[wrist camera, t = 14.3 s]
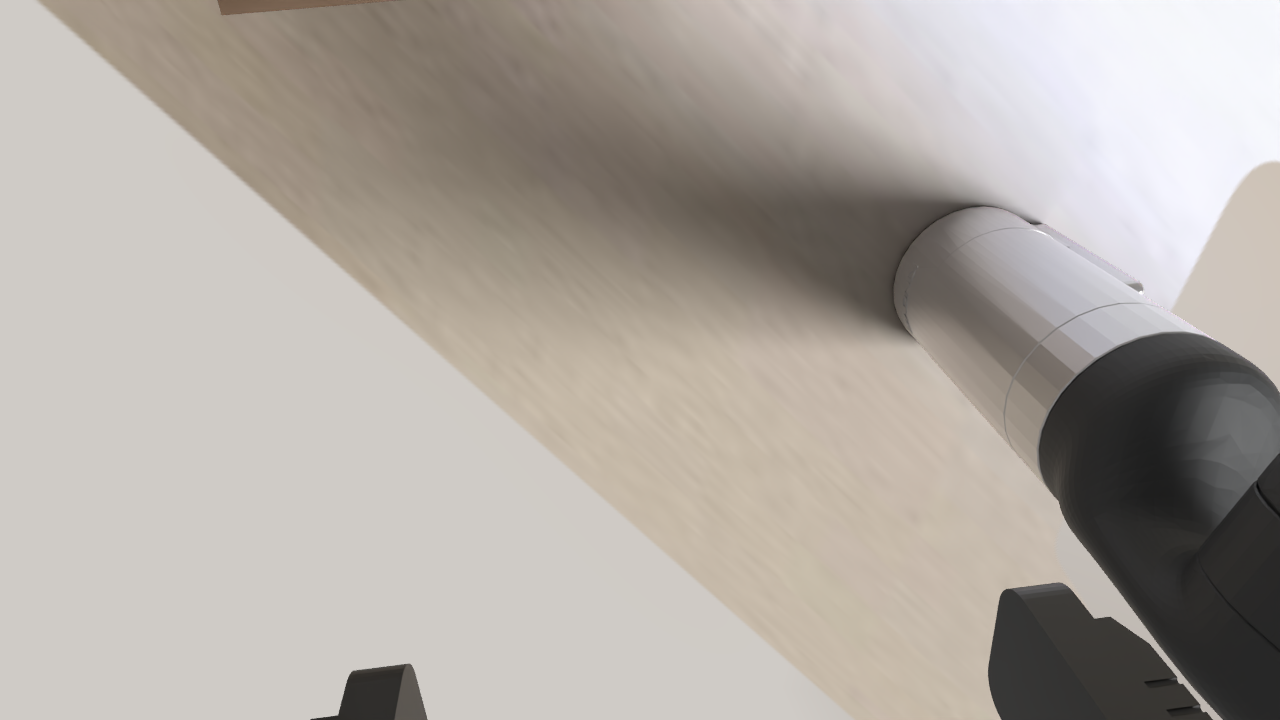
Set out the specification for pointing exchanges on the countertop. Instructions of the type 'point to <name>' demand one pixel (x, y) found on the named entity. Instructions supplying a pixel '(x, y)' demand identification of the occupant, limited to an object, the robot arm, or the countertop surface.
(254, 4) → the frame
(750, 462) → the countertop surface
